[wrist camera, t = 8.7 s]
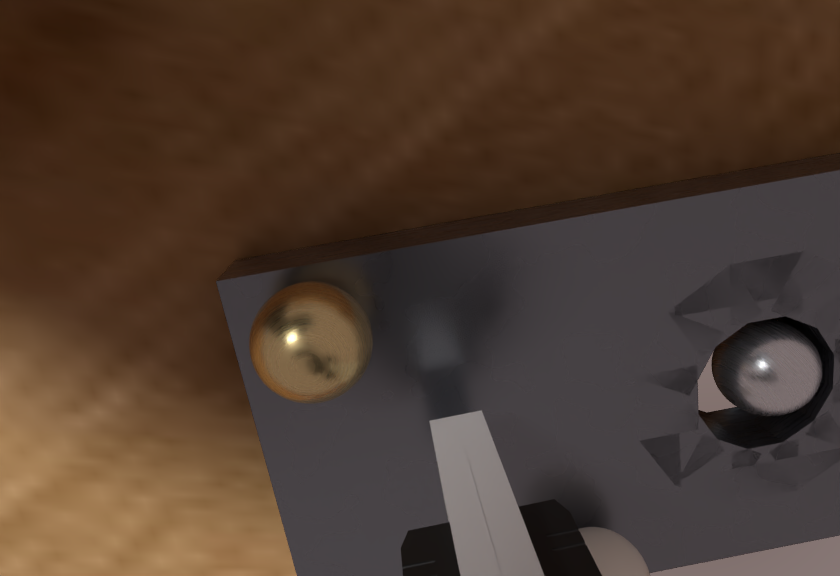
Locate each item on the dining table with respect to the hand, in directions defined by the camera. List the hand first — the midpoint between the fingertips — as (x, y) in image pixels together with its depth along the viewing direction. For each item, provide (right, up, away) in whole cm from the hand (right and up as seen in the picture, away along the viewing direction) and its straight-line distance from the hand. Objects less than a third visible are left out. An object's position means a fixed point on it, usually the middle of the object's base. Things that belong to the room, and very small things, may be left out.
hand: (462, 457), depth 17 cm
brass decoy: (-4, +3, -1) cm, 5 cm away
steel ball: (+10, +2, +3) cm, 11 cm away
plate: (+5, +2, +4) cm, 7 cm away
